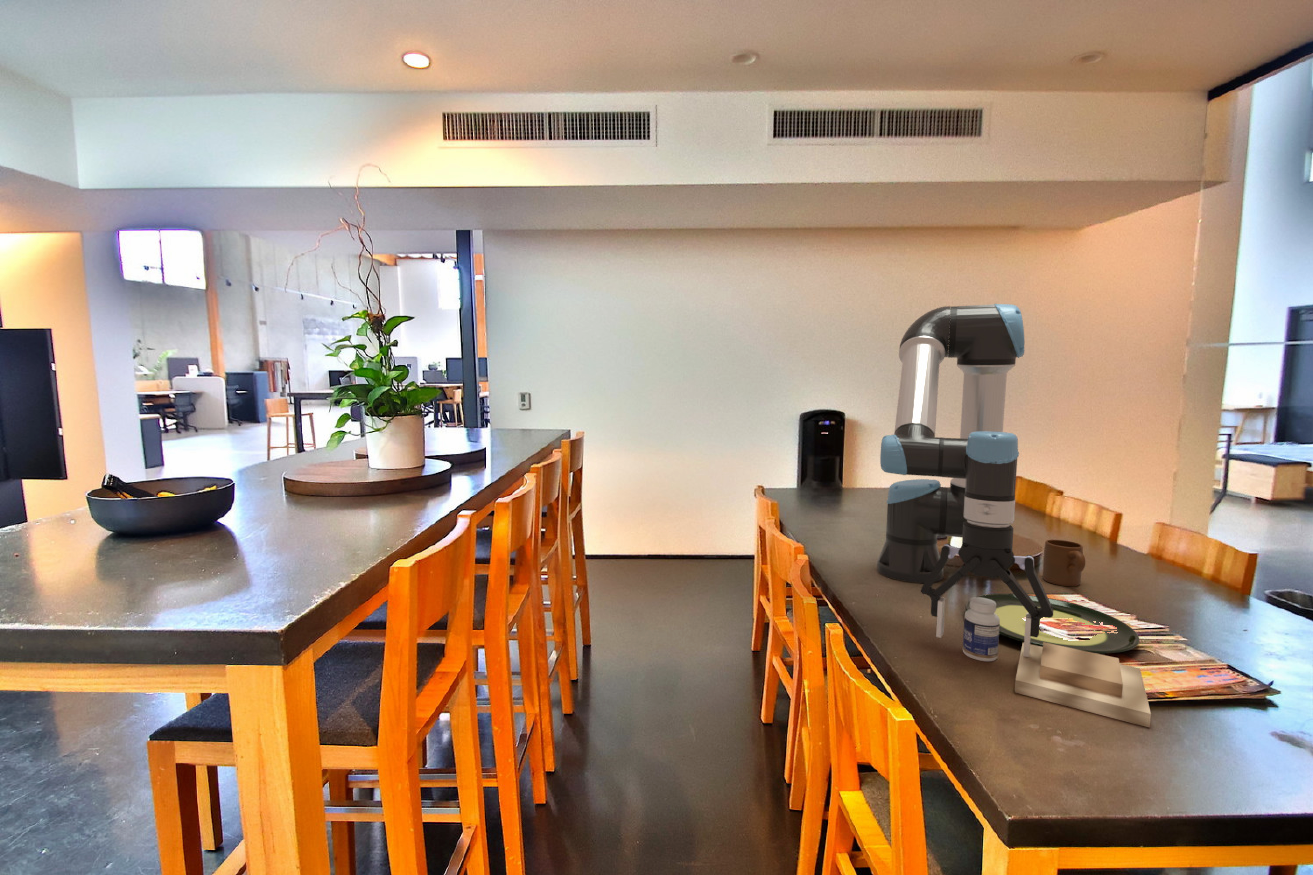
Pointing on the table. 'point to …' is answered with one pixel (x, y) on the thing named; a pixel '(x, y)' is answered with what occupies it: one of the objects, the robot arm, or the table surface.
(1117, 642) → the plate
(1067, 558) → the mug
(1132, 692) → the base
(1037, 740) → the table surface
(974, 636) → the pill bottle
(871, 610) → the table surface
